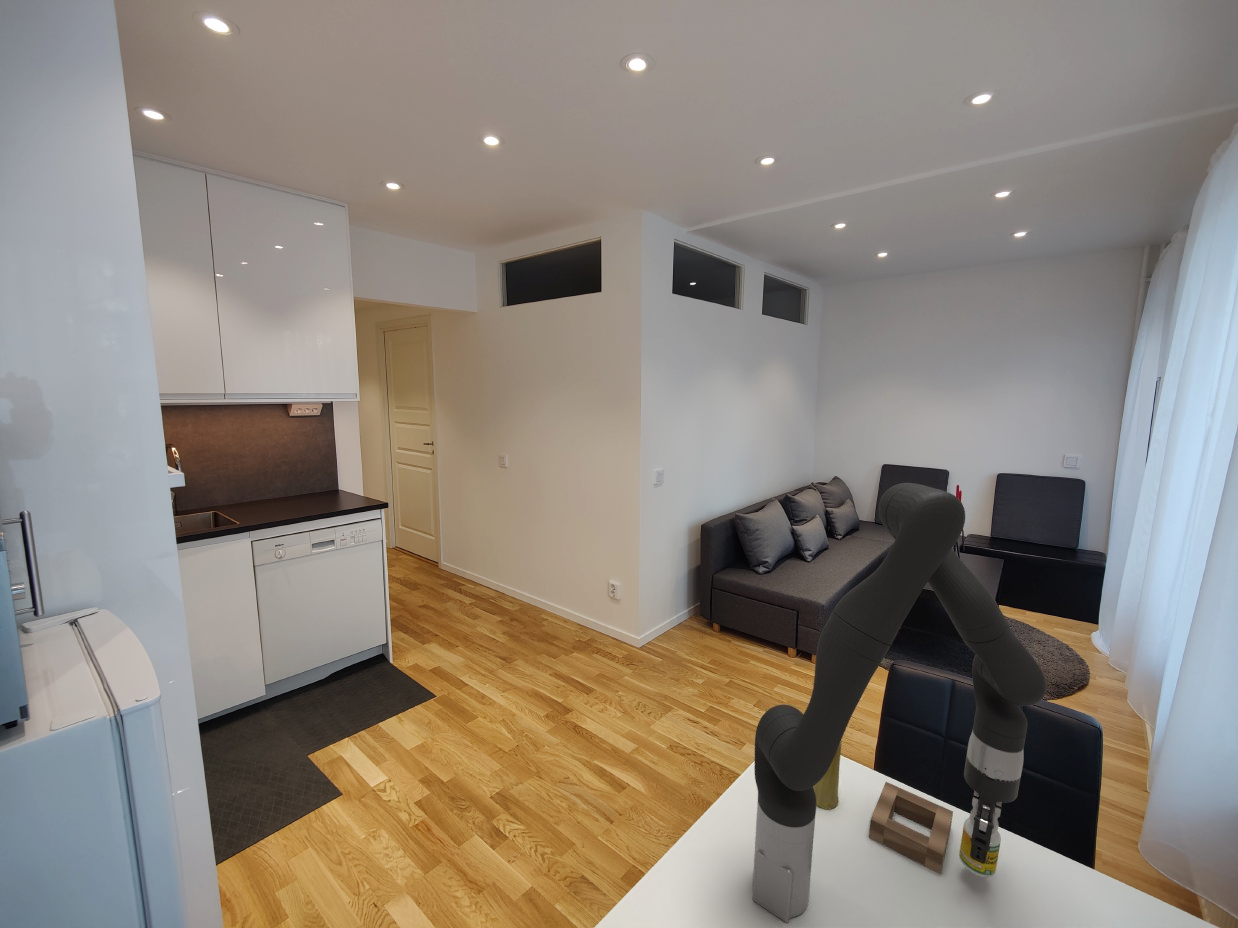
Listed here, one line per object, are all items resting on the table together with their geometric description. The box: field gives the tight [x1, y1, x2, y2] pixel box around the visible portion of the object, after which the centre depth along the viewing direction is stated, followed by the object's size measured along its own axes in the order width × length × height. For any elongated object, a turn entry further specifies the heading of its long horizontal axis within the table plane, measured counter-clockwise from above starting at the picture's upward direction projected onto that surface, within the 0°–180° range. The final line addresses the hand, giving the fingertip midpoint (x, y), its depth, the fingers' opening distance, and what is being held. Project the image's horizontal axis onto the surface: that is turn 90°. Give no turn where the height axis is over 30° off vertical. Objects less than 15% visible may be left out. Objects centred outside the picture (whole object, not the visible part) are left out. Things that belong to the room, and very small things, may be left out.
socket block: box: [868, 781, 954, 875], centre depth 102 cm, size 12×12×4 cm
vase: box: [813, 740, 843, 810], centre depth 110 cm, size 6×6×14 cm
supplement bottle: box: [958, 808, 1002, 878], centre depth 92 cm, size 5×5×10 cm
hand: (979, 847), depth 92 cm, fingers closed on supplement bottle, 5 cm apart
